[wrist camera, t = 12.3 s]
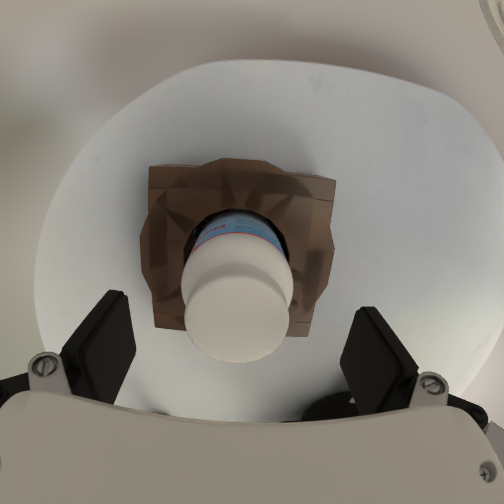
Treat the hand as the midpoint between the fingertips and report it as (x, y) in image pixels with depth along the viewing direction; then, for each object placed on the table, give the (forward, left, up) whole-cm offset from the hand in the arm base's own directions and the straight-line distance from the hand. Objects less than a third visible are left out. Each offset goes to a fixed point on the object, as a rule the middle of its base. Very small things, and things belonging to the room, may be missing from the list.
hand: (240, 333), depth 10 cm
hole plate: (0, 0, -12) cm, 12 cm away
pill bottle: (0, 0, -12) cm, 12 cm away
